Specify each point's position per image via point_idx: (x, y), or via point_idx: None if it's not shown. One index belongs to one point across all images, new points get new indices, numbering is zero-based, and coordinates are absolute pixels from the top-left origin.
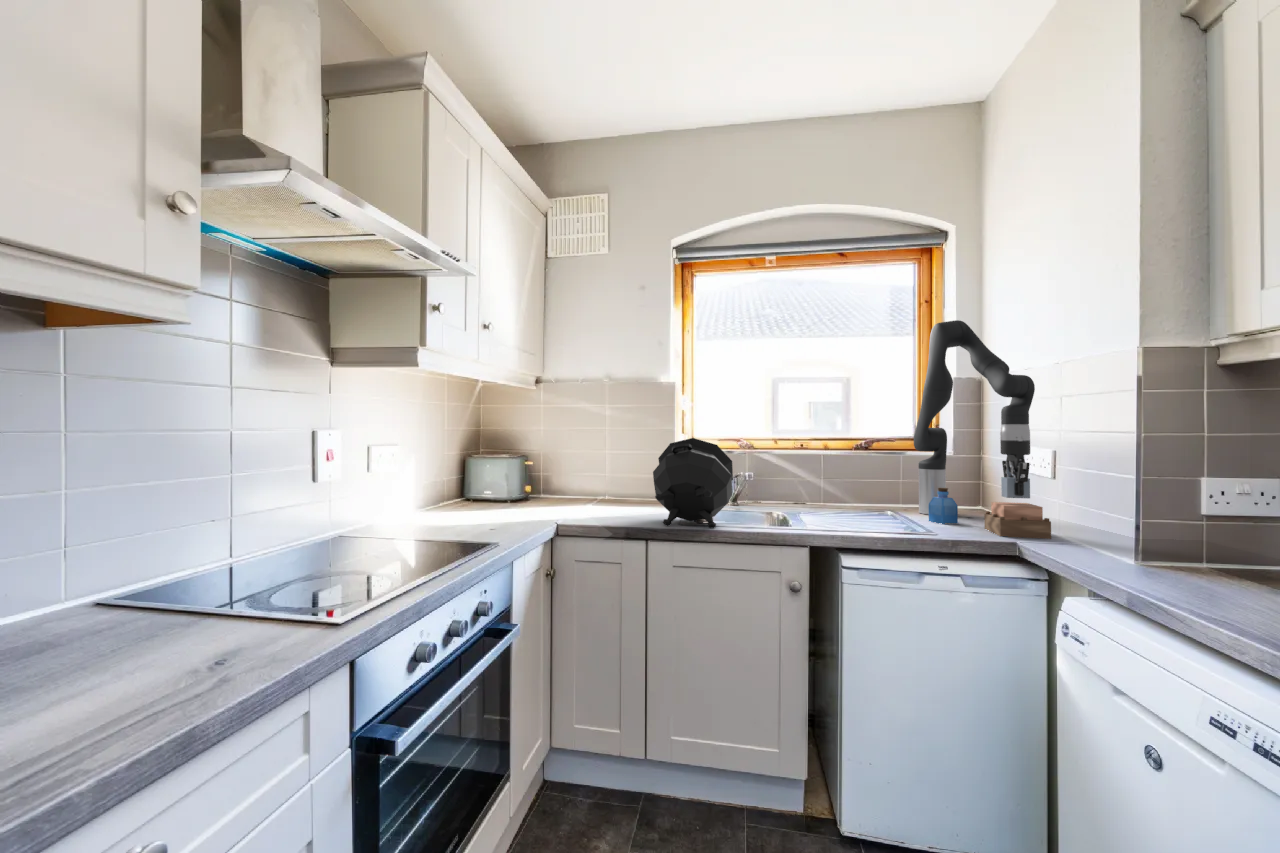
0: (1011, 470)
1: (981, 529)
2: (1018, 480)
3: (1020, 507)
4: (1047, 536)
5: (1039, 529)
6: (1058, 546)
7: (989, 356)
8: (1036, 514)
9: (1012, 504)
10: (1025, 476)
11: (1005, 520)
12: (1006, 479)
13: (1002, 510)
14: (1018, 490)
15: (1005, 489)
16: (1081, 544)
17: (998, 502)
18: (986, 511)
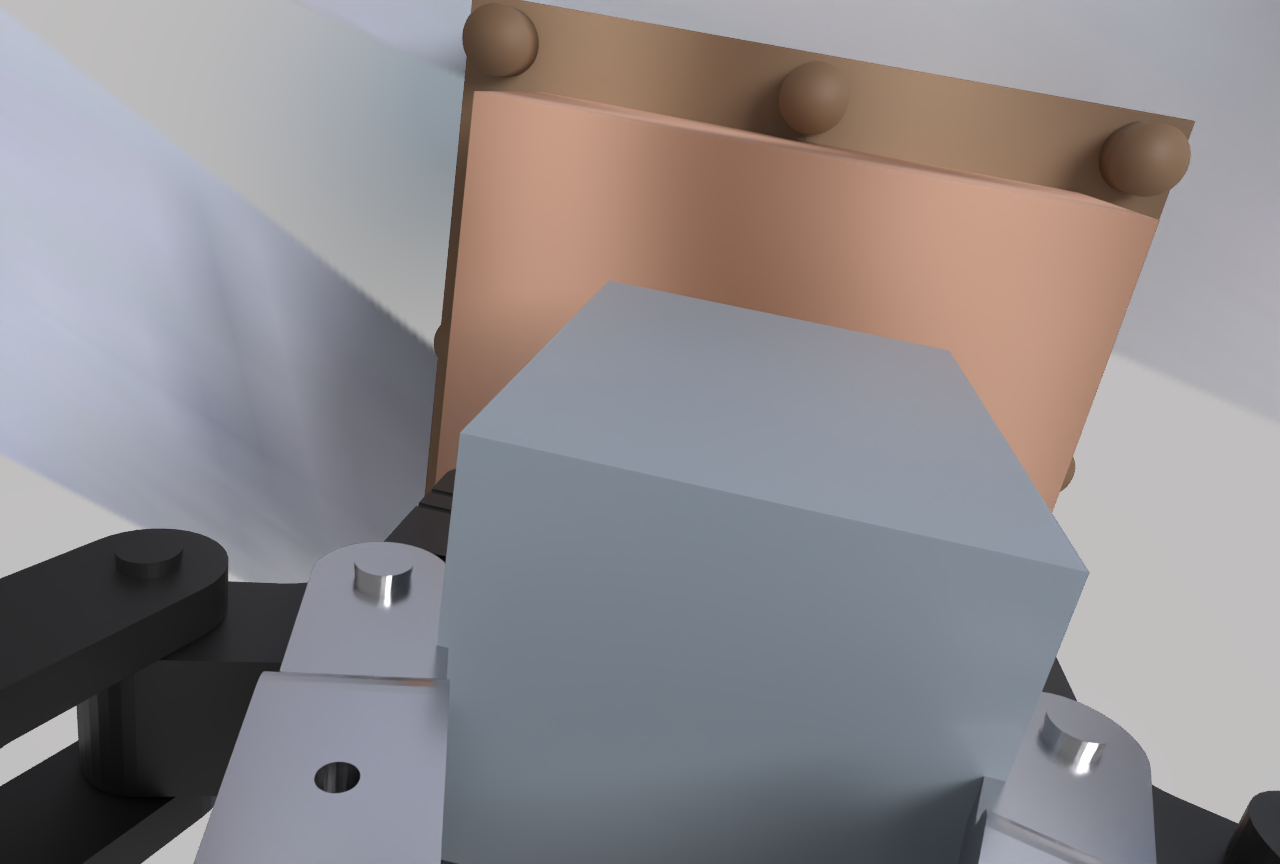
0: (363, 823)
1: (1089, 58)
2: (106, 537)
3: (450, 359)
4: None
5: None
6: (88, 311)
7: None
8: None
9: None
10: (45, 820)
11: (469, 69)
12: (544, 428)
13: (568, 102)
14: (428, 500)
15: (686, 344)
16: (248, 581)
17: (1047, 318)
18: (1160, 136)
